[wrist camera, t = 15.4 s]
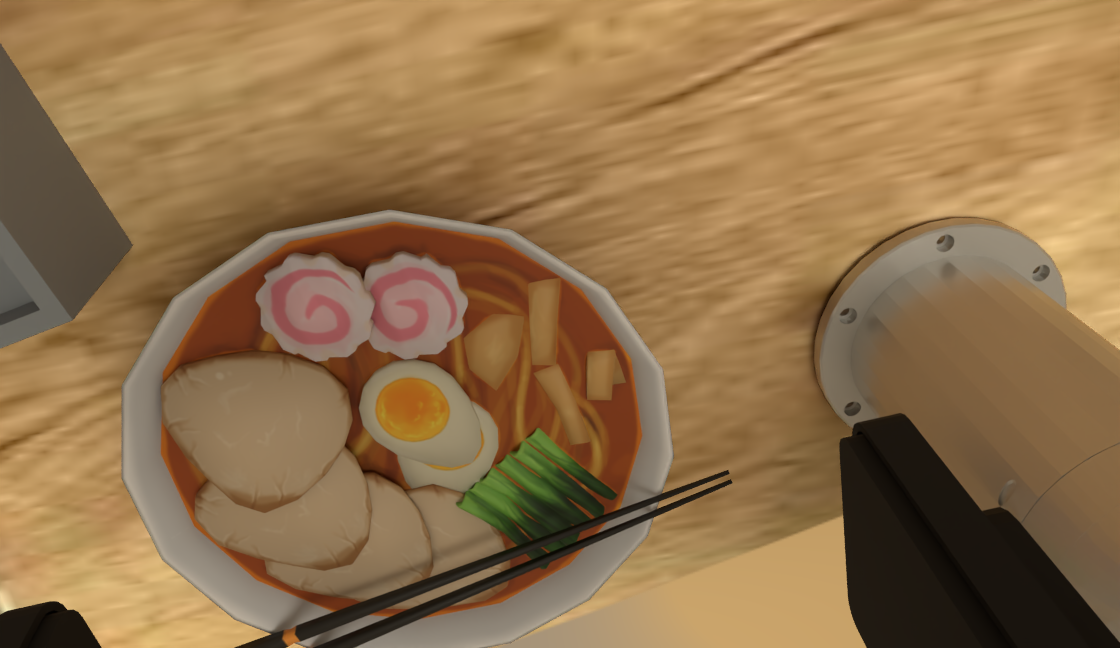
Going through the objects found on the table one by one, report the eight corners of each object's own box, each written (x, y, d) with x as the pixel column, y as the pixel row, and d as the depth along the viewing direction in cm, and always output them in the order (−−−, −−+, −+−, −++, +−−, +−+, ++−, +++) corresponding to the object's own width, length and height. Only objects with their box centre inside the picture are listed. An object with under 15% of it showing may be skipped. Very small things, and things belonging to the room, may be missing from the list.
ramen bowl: (568, 56, 38) (595, 106, 31) (718, 460, 49) (764, 567, 42) (41, 275, 40) (-49, 369, 33) (296, 616, 51) (270, 743, 44)
